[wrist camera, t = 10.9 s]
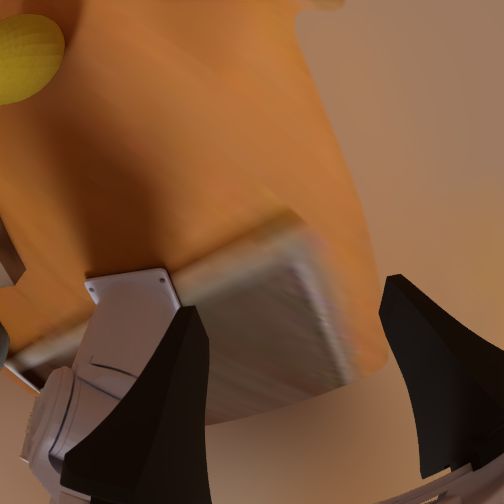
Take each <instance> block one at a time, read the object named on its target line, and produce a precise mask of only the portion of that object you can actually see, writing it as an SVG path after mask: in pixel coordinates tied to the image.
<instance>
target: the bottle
mask: <svg viewBox="0 0 504 504" xmlns="http://www.w3.org/2000/svg"><path fill="white" fill-rule="evenodd" d="M9 343H10V339H9V336H8V334H7V332H6V331H5V329H4V328H3V326H2V325H1V324H0V371H1V369H2V367H3V366H4V362H5V359H6V356H7V353H8V349H9Z"/></svg>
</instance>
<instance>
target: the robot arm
mask: <svg viewBox="0 0 504 504" xmlns="http://www.w3.org/2000/svg"><path fill="white" fill-rule="evenodd" d="M161 278H163V279H165V280H162V279H161ZM84 285H85V287H86V288H87V290H88V292H89V294H90V295H91V297H92V299H93V300H94V302H95V304H96V308H95V310H94V312H93V315H92V317H91V319H90V322H89V324H88V327H87V329H86V332H85V334H84V337H83V339H82V342H81V344H80V347H79V350H78V352H77V355H76V358H75V361H74V363H73V366H72V369H70V368H68V367H66V366H64V367H62V368H59V369H55V370H54V371H53V372H52V373H51V375H50V376H49V378H48V380H47V382H46V384H45V386H44V388H43V390H42V393H41V395H40V398H39V400H38V403H37V406H36V409H35V413H34V416H33V420H32V425H31V431H30V434H29V437H28V442H27V459H28V461H29V466H30V469H31V471H32V473H33V474H34V476H35V477H36V478H37V480H38V481H39V482H40V483H41V484H42V485H43V487H44V488H45V489H46V490H47V491H48V493H49V494H50V495H51V500H50V503H49V504H212V501H211V495H210V488H209V481H208V472H207V462H206V447H205V406H206V395H207V385H208V374H209V338H208V336H207V334H206V331H205V329H204V326H203V324H202V321H201V319H200V316H199V314H198V311H197V309H196V306H185V307H181V305H180V303H179V301H178V298H177V296H176V293H175V291H174V289H173V286H172V284H171V281H170V279H169V276H168V274H167V272H166V270H165V269H163V268H155V269H149V270H142V271H136V272H129V273H122V274H116V275H109V276H102V277H96V278H89V279H86V281H85V283H84ZM92 288H93V289H92ZM379 316H380V320H381V323H382V326H383V329H384V332H385V336H386V338H387V340H388V342H389V345H390V347H391V349H392V351H393V354H394V356H395V358H396V361H397V363H398V365H399V368H400V370H401V373H402V375H403V378H404V380H405V383H406V385H407V389H408V392H409V396H410V400H411V404H412V408H413V413H414V418H415V423H416V429H417V436H418V444H419V455H420V473H421V476H422V479H425V478H427V477H429V476H432V475H434V474H436V473H438V472H440V471H442V470H444V469H446V468H448V467H450V468H451V473H449V474H447V475H445V476H443V477H441V478H439V479H437V480H434V481H432V482H430V483H428V484H426V485H423V486H421V487H419V488H416V489H414V490H411V491H409V492H406V493H404V494H401V495H399V496H396V497H393V498H390V499H387V500H384V501H381V502H378V503H374V504H420V503H422V502H424V501H427V500H429V499H431V498H433V497H435V496H437V495H439V496H438V499H437V500H434V501H431V502H428V503H425V504H504V351H503V350H501V349H500V348H498V347H496V346H494V345H493V344H491V343H489V342H487V341H486V340H484V339H483V338H481V337H480V336H478V335H477V334H475V333H474V332H472V331H471V330H469V329H468V328H467V327H465V326H464V325H462V324H461V323H460V322H459V321H457V320H456V319H455V318H453V317H452V316H451V315H449V314H448V313H447V312H446V311H444V310H443V309H442V308H441V307H440V306H438V305H437V304H436V303H434V301H432V300H431V299H430V298H429V297H428V296H426V295H425V294H424V293H423V292H422V291H421V290H419V289H418V288H417V287H416V286H415V285H413V284H412V283H411V282H410V281H409V280H408V279H406V278H405V277H404V276H403V275H401V274H397V275H392V276H387V278H386V283H385V287H384V292H383V296H382V301H381V305H380V309H379Z"/></svg>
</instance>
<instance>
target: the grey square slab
mask: <svg viewBox="0 0 504 504" xmlns="http://www.w3.org/2000/svg"><path fill="white" fill-rule="evenodd" d="M25 270H26V268H25V266H24V265H23V263H22V261H21V259H20V257H19V255H18V254H17V252H16V250H15V248H14V246H13V244H12V242H11V240H10V238H9V236H8V234H7V232H6V229H5V227H4V225H3V223H2V221H1V218H0V288H3V287H9V286H15V284H16V283H17V282H18V280H19V279H20V277H21V276H22V274H23V273H24V272H25Z"/></svg>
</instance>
